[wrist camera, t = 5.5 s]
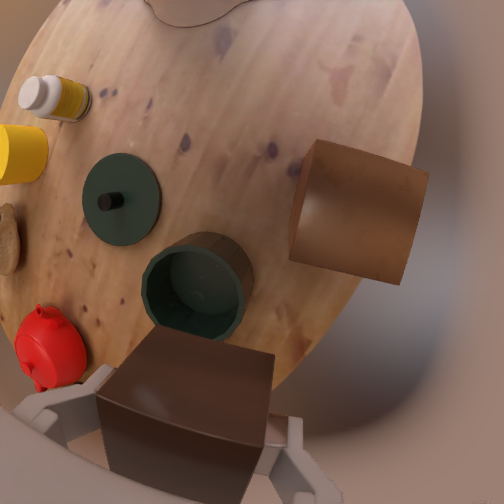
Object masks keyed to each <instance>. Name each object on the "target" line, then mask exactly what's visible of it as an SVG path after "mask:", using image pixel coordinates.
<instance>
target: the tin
mask: <svg viewBox="0 0 504 504" xmlns="http://www.w3.org/2000/svg"><path fill="white" fill-rule="evenodd" d="M253 281H254V278H253V269H252V266H251V263H250V260H249V258H248V256H247V255H246V253H245V252H244V250H243V249H242V248H241V247H240V246H239V245H238V244H237V243H236V242H235V241H233V240H232V239H230V238H228V237H226V236H224V235H222V234H218V233H214V232H199V233H195V234H191V235H188V236H186V237H185V238H183V239H181V240H180V241H178V242H176V243H174V244H173V245H171V246H169V247H168V248H166V249H165V250H163V251H162V252H160V253H159V254H158V255H156V256H155V257H153V258H152V259H151V261H150V262H149V264H148V266H147V268H146V270H145V272H144V274H143V276H142V288H141V296H142V300H143V303H144V306H145V309H146V313H147V314H148V316H149V317H150V318H151V320H152V321H153V323H154V324H155V325H157V324H159V325H162V326H165V327H169V328H172V329H175V330H179V331H182V332H186V333H189V334H193V335H196V336H200V337H204V338H208V339H211V340H215V341H219V342H220V341H222V340H224V339H226V338H228V337H230V336H231V335H232V333H233V332H234V331H235V329H236V328H237V327H238V326H239V324H240V323H241V321H242V318H243V315H244V313H245V310H246V307H247V304H248V301H249V298H250V295H251V290H252V287H253Z"/></svg>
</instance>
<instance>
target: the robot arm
mask: <svg viewBox="0 0 504 504" xmlns="http://www.w3.org/2000/svg"><path fill="white" fill-rule="evenodd" d="M144 1H146V2H147V3H149V4H151V6H152V8H153V10H154V13H155V15H156V16H157V17H158V18H159V19H160V20H161V21H163V22H164V23H166V24H169V25H172V26H177V27H191V26H197V25H202V24H205V23H208V22H211V21H213V20H216V19H218V18H220V17H221V16H223V15H225V14H226V13H227V12H229V11H230V10H231V9H233V8H234V7H235V6H237V5H238V4H240V3H243V2H246V1H249V0H144ZM116 370H117V368H114V367H112V366H110V365H107V364H102V365H101V366H100V367H99V368H98V369H97V370H96V371H95V372H94V373H93V374H92V375H91V376H90V377H89V378H88V379H87V380H86V381H85V382H84V384H83V385H80V384H76V385H72V386H68V387H64V388H59V389H55V390H51V391H46V392H41V393H37V394H32V395H28V396H27V397H26V398H25V399H24V400H23V401H22V402H21V403H19V404H18V405H17V406H16V407H15V408H14V409H13V410H12V411H11V412H10V411H9V410H8V409H6V408H5V407H4V406H2V405H1V404H0V504H205V503H201V502H197V501H194V500H190V499H187V498H183V497H180V496H177V495H173V494H170V493H167V492H164V491H161V490H158V489H155V488H153V487H150V486H147V485H144V484H142V483H139V482H137V481H134V480H132V479H129V478H127V477H124V476H122V475H120V474H117V473H115V472H113V471H111V470H108V469H106V468H104V467H102V466H100V465H98V464H95V463H93V462H92V461H90V460H88V459H86V458H84V457H82V456H80V455H78V454H76V453H74V452H72V451H71V450H69V448H68V446H67V443H68V442H70V441H72V440H75V439H77V438H79V437H81V436H84V435H85V434H88V433H90V432H93V431H95V430H97V429H99V428H100V422H99V416H98V410H97V404H96V397H95V394H96V393H97V391H98V390H99V389H100V388H101V387H102V386H103V384H104V383H105V382H106V381H107V380H108V379H109V378H110V376H111V375H112V374H113V373H114V372H115V371H116ZM254 473H255V474H260V475H265V476H269V478H270V480H271V482H272V484H273V486H274V488H275V489H276V491H277V493H278V495H279V497H280V498H281V500H282V502H283V504H344V501H343V493H342V492H341V491H340V490H339V488H338V487H337V486H336V485H335V484H334V483H333V481H332V480H331V479H330V478H329V477H328V476H327V474H326V473H325V472H324V471H323V470H322V468H321V467H320V466H319V465H318V464H317V463H316V462H315V460H314V459H313V458H312V456H311V455H310V454H309V453H308V452H307V451H303V420H302V418H297V417H291V416H284V415H278V414H272V413H269V414H268V422H267V429H266V437H265V445H264V449H263V451H262V454H261V456H260V459H259V461H258V464H257V466H256V469H255V471H254ZM470 504H490V503H488V502H486V501H478V502H474V503H470Z"/></svg>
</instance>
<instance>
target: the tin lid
mask: <svg viewBox="0 0 504 504" xmlns="http://www.w3.org/2000/svg"><path fill="white" fill-rule="evenodd" d="M82 205H83V211H84V215H85V218H86V220H87V223H88V225H89V226H90V228H91V229H92V231H93V232H94V233H95V234H96V235H97V236H98V237H99V238H100V239H101V240H103V241H104V242H106V243H108V244H111V245H115V246H128V245H131V244H134V243H136V242H138V241H140V240H141V239H143V238H144V237H145V236H146V235H147V234H148V233H149V232H150V231H151V229H152V228H153V226H154V224H155V222H156V220H157V217H158V214H159V209H160V190H159V186H158V182H157V180H156V177H155V175H154V173H153V172H152V170H151V169H150V167H149V166H148V165H147V164H146V163H145V162H144V161H142V160H141V159H140V158H138V157H136V156H133V155H130V154H125V153H117V154H112V155H109V156H107V157H105V158H103V159H101V160H100V161H99V162H98V163H97V164H96V165H95V166H94V167H93V168H92V169H91V171H90V172H89V174H88V176H87V178H86V181H85V184H84V188H83V194H82Z"/></svg>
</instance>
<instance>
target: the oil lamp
mask: <svg viewBox="0 0 504 504" xmlns="http://www.w3.org/2000/svg"><path fill="white" fill-rule="evenodd" d="M19 254H20V238H19V235H18V227H17V217H16V212H15V209H14V208H13V206H12V205H11V204H9V203H7V204H4V205H3V206H2V207H1V208H0V274H1V275H5V276H9V275H11V274H12V273H13V272H14V271H15V269H16V266H17V264H18V261H19Z"/></svg>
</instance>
